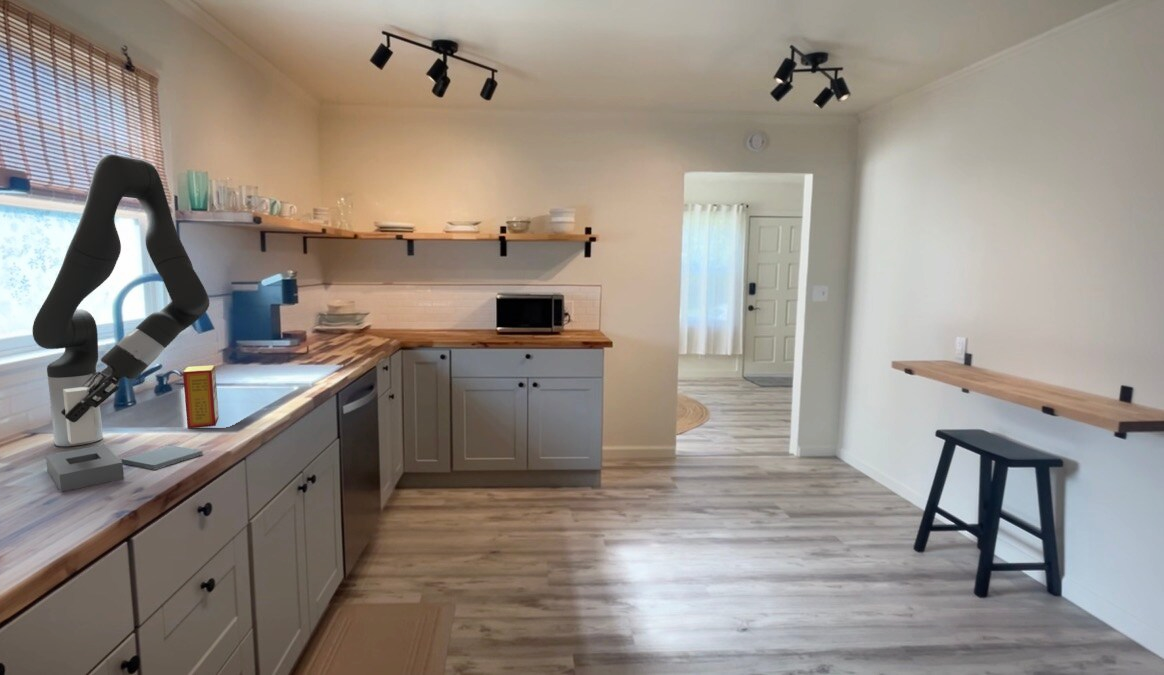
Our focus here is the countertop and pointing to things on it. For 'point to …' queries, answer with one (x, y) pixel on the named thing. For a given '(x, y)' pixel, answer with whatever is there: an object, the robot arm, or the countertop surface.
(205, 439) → the countertop surface
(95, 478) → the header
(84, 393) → the tall cream white pillar
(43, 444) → the countertop surface
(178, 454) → the mat
